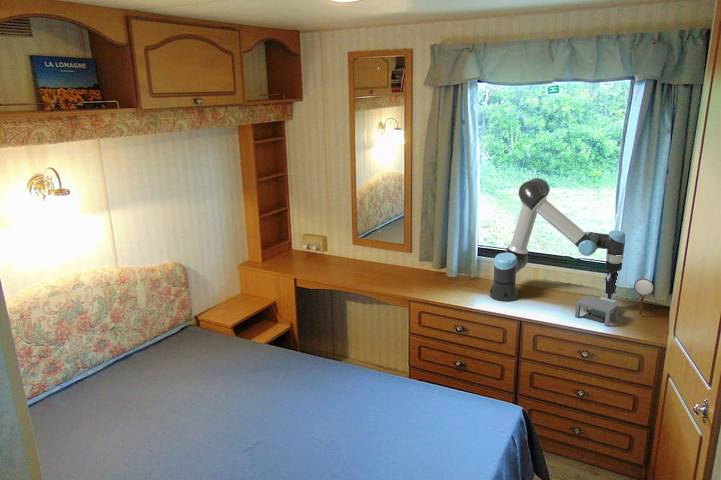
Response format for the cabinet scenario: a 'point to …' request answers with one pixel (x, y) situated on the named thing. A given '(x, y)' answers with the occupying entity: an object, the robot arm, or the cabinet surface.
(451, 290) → the cabinet surface
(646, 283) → the magnifying glass
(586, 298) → the grey footstool
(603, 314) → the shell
